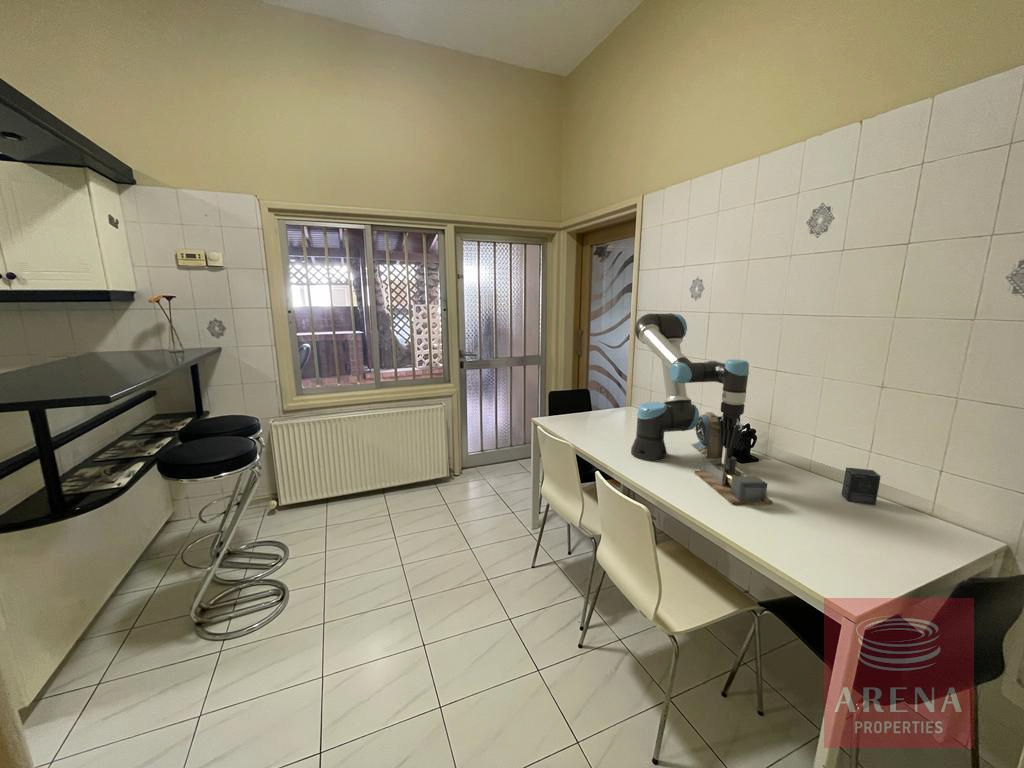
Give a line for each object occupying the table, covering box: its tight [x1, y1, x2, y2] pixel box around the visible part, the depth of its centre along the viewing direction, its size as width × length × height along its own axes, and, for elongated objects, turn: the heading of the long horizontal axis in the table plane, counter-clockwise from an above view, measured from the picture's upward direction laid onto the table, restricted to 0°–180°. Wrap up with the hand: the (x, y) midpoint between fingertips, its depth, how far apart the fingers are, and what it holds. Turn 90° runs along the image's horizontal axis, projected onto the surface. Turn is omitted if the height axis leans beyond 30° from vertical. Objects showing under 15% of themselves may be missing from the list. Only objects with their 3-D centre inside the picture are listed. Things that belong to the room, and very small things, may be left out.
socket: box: [730, 475, 768, 502], centre depth 137 cm, size 6×8×6 cm
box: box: [841, 466, 882, 506], centre depth 138 cm, size 8×6×11 cm
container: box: [705, 422, 723, 459], centre depth 166 cm, size 9×9×18 cm
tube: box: [719, 455, 737, 486], centre depth 147 cm, size 14×4×10 cm, turn 3°
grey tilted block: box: [701, 458, 745, 486], centre depth 153 cm, size 14×8×5 cm, turn 3°
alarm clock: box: [690, 411, 719, 455], centre depth 185 cm, size 14×10×18 cm
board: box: [694, 469, 774, 506], centre depth 148 cm, size 26×14×1 cm, turn 3°
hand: (726, 463), depth 151 cm, fingers closed
